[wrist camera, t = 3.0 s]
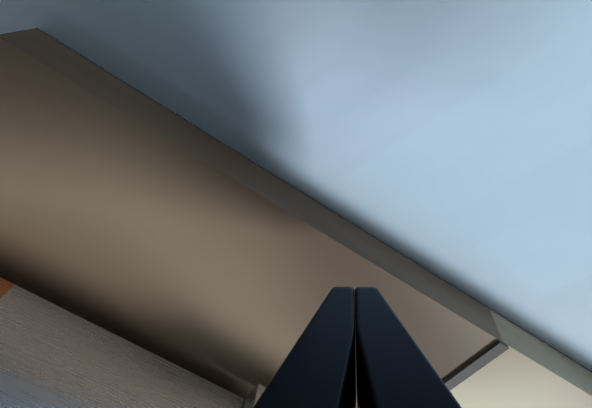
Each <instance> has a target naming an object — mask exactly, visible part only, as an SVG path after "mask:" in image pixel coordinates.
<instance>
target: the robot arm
mask: <svg viewBox="0 0 592 408" xmlns="http://www.w3.org/2000/svg"><path fill="white" fill-rule="evenodd" d="M355 335H356V341H355ZM356 387H357V408H462V407H461V406H460V404H459V403H458V402H457V400H456V399H455V397H454V396H453V395H452V393H451V392H450V390H449V389H448V388H447V386H446V385H445V383H444V382H443V380H442V379H441V378H440V376H439V375H438V373H437V372H436V371H435V369H434V368H433V366H432V365H431V363H430V362H429V361H428V359H427V358H426V356H425V355H424V354H423V352H422V351H421V349H420V348H419V346H418V345H417V344H416V342H415V341H414V339H413V338H412V337H411V335H410V334H409V332H408V331H407V330H406V328H405V327H404V325H403V324H402V322H401V321H400V320H399V318H398V317H397V315H396V314H395V313H394V311H393V310H392V308H391V307H390V305H389V304H388V303H387V301H386V300H385V298H384V297H383V296H382V294H381V293H380V291H379V290H378V289H377V288H376V287H357V288H356V289H355V291H354V288H352V287H333V288H332V289H331V290H330V292H329V293H328V295H327V296H326V298H325V299H324V301H323V302H322V304H321V305H320V307H319V309H318V310H317V312H316V313H315V315H314V316H313V318H312V319H311V321H310V322H309V324H308V325H307V327H306V328H305V330H304V331H303V333H302V334H301V336H300V337H299V339H298V340H297V342H296V343H295V345H294V346H293V348H292V349H291V351H290V352H289V354H288V355H287V357H286V358H285V360H284V361H283V363H282V364H281V366H280V367H279V369H278V370H277V372H276V373H275V375H274V376H273V378H272V380H271V381H270V383H269V384H268V386H267V387H266V389H265V390H264V392H263V393H262V395H261V396H260V398H259V399H258V401H257V402H256V404H255V405H254V407H253V408H356Z"/></svg>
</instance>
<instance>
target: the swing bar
mask: <svg viewBox="0 0 592 408" xmlns="http://www.w3.org/2000/svg"><path fill="white" fill-rule="evenodd" d="M265 389H266V387H265V386H263V385H261V384H258V385H257V386H256V387H255V388H254V389H253V390H252V391H251V392H250V393H249V394H248V395H247V396H246V400H245V405H244V408H253V407H254V405H255V404H256V402H257V401H258V399H259V398H260V396H261V395H262V393H263V392H264V390H265ZM243 401H244V398H242V397H240V396H238V395H236V394H234V393H232V392H230V391H228V390H226V389H224V388H222V387H220V386H218V385H216V384H214V383H212V382H210V381H208V380H206V379H204V378H202V377H200V376H198V375H196V374H194V373H192V372H190V371H188V370H186V369H184V368H182V367H179V366H177V365H175V364H173V363H171V362H169V361H167V360H165V359H163V358H161V357H159V356H157V355H155V354H153V353H151V352H149V351H147V350H145V349H143V348H141V347H139V346H137V345H135V344H133V343H131V342H129V341H127V340H125V339H123V338H121V337H119V336H117V335H115V334H113V333H111V332H109V331H107V330H105V329H103V328H101V327H99V326H97V325H95V324H93V323H91V322H89V321H87V320H85V319H83V318H81V317H79V316H77V315H75V314H73V313H71V312H69V311H67V310H65V309H63V308H61V307H59V306H57V305H55V304H53V303H51V302H49V301H47V300H45V299H43V298H41V297H39V296H37V295H35V294H33V293H31V292H29V291H27V290H25V289H23V288H21V287H19V286H17V285H15V284H13V283H11V282H9V281H7V280H5V279H3V278H1V277H0V408H242V405H243Z"/></svg>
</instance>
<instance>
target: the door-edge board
mask: <svg viewBox="0 0 592 408" xmlns="http://www.w3.org/2000/svg"><path fill="white" fill-rule="evenodd" d="M0 277H1V278H3V279H5V280H7V281H9V282H11V283H13V284H15V285H17V286H19V287H21V288H23V289H25V290H27V291H29V292H31V293H33V294H35V295H37V296H39V297H41V298H43V299H45V300H47V301H49V302H51V303H53V304H55V305H57V306H59V307H61V308H63V309H65V310H67V311H69V312H71V313H73V314H75V315H77V316H79V317H81V318H83V319H85V320H87V321H89V322H91V323H93V324H95V325H97V326H99V327H101V328H103V329H105V330H107V331H109V332H111V333H113V334H115V335H117V336H119V337H121V338H123V339H125V340H127V341H129V342H131V343H133V344H135V345H137V346H139V347H141V348H143V349H145V350H147V351H149V352H151V353H153V354H155V355H157V356H159V357H161V358H163V359H165V360H167V361H169V362H171V363H173V364H175V365H177V366H179V367H182V368H184V369H186V370H188V371H190V372H192V373H194V374H196V375H198V376H200V377H202V378H204V379H206V380H208V381H210V382H212V383H214V384H216V385H218V386H220V387H222V388H224V389H226V390H228V391H230V392H232V393H234V394H236V395H238V396H240V397H242V398H244V401H243V405H242V408H244V405H245V400H246V396H247V395H248V394H249V393H250V392H251V391H252V390H253V389H254V388H255V387H256V386H257V385H258V384H261V385H263V386H265V387H267V386H268V384H269V383H270V381H271V380H272V378H273V376H274V375H275V373H276V372H277V370H278V369H279V367H280V366H281V364H282V363H283V361H284V360H285V358H286V357H287V355H288V354H289V352H290V351H291V349H292V348H293V346H294V345H295V343H296V342H297V340H298V339H299V337H300V336H301V334H302V333H303V331H304V330H305V328H306V327H307V325H308V324H309V322H310V321H311V319H312V318H313V316H314V315H315V313H316V312H317V310H318V309H319V307H320V305H321V304H322V302H323V301H324V299H325V298H326V296H327V295H328V293H329V292H330V290H331V289H332V288H333V287H352V288H354V291H355V289H356V288H357V287H376V288H377V289H378V290H379V291H380V293H381V294H382V296H383V297H384V298H385V300H386V301H387V303H388V304H389V305H390V307H391V308H392V310H393V311H394V313H395V314H396V315H397V317H398V318H399V320H400V321H401V322H402V324H403V325H404V327H405V328H406V330H407V331H408V332H409V334H410V335H411V337H412V338H413V339H414V341H415V342H416V344H417V345H418V346H419V348H420V349H421V351H422V352H423V354H424V355H425V356H426V358H427V359H428V361H429V362H430V363H431V365H432V366H433V368H434V369H435V371H436V372H437V373H438V375H439V376H440V378H441V379H442V380H443V382H444V383H445V385H446V386H447V388H448V389H449V390H450V392H451V393H452V395H453V396H454V397H455V399H456V400H457V402H458V403H459V404H460V406H461V407H462V408H592V372H590V371H589V370H587V369H586V368H584V367H582V366H581V365H579V364H577V363H576V362H574V361H573V360H571V359H569V358H568V357H566V356H565V355H563V354H561V353H560V352H558V351H557V350H555V349H553V348H552V347H550V346H548V345H547V344H545V343H544V342H542V341H540V340H539V339H537V338H536V337H534V336H532V335H531V334H529V333H528V332H526V331H524V330H523V329H521V328H519V327H518V326H516V325H515V324H513V323H511V322H510V321H508V320H507V319H505V318H503V317H502V316H500V315H498V314H497V313H495V312H494V311H492V310H490V309H489V308H487V307H486V306H484V305H482V304H481V303H479V302H478V301H476V300H474V299H473V298H471V297H469V296H468V295H466V294H465V293H463V292H461V291H460V290H458V289H457V288H455V287H453V286H452V285H450V284H449V283H447V282H445V281H444V280H442V279H440V278H439V277H437V276H436V275H434V274H432V273H431V272H429V271H428V270H426V269H424V268H423V267H421V266H420V265H418V264H416V263H415V262H413V261H411V260H410V259H408V258H407V257H405V256H403V255H402V254H400V253H399V252H397V251H395V250H394V249H392V248H390V247H389V246H387V245H386V244H384V243H382V242H381V241H379V240H378V239H376V238H374V237H373V236H371V235H370V234H368V233H366V232H365V231H363V230H361V229H360V228H358V227H357V226H355V225H353V224H352V223H350V222H349V221H347V220H345V219H344V218H342V217H341V216H339V215H337V214H336V213H334V212H332V211H331V210H329V209H328V208H326V207H324V206H323V205H321V204H320V203H318V202H316V201H315V200H313V199H312V198H310V197H308V196H307V195H305V194H303V193H302V192H300V191H299V190H297V189H295V188H294V187H292V186H291V185H289V184H287V183H286V182H284V181H282V180H281V179H279V178H278V177H276V176H274V175H273V174H271V173H270V172H268V171H266V170H265V169H263V168H262V167H260V166H258V165H257V164H255V163H253V162H252V161H250V160H249V159H247V158H245V157H244V156H242V155H241V154H239V153H237V152H236V151H234V150H233V149H231V148H229V147H228V146H226V145H224V144H223V143H221V142H220V141H218V140H216V139H215V138H213V137H212V136H210V135H208V134H207V133H205V132H204V131H202V130H200V129H199V128H197V127H195V126H194V125H192V124H191V123H189V122H187V121H186V120H184V119H183V118H181V117H179V116H178V115H176V114H174V113H173V112H171V111H170V110H168V109H166V108H165V107H163V106H162V105H160V104H158V103H157V102H155V101H154V100H152V99H150V98H149V97H147V96H145V95H144V94H142V93H141V92H139V91H137V90H136V89H134V88H133V87H131V86H129V85H128V84H126V83H125V82H123V81H121V80H120V79H118V78H116V77H115V76H113V75H112V74H110V73H108V72H107V71H105V70H104V69H102V68H100V67H99V66H97V65H96V64H94V63H92V62H91V61H89V60H87V59H86V58H84V57H83V56H81V55H79V54H78V53H76V52H75V51H73V50H71V49H70V48H68V47H66V46H65V45H63V44H62V43H60V42H58V41H57V40H55V39H54V38H52V37H50V36H49V35H47V34H46V33H44V32H42V31H41V30H39V29H37V28H35V29H30V30H24V31H18V32H13V33H7V34H1V35H0ZM355 341H356V335H355ZM356 408H357V387H356Z"/></svg>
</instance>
